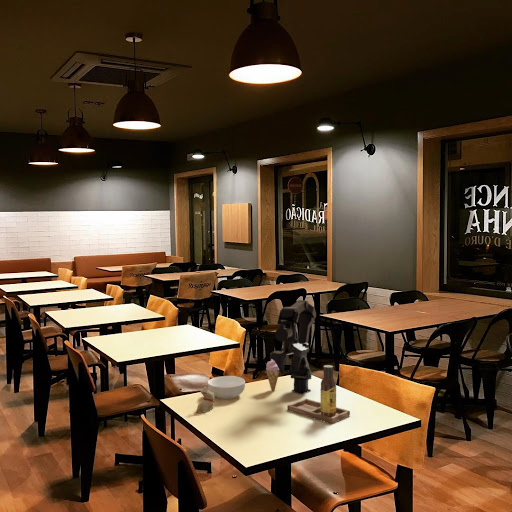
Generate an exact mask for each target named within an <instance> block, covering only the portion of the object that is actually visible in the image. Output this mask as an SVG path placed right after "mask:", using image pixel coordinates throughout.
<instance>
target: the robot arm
mask: <svg viewBox="0 0 512 512" xmlns="http://www.w3.org/2000/svg"><path fill="white" fill-rule="evenodd" d="M316 318H317V312H316V309H315V307H314V306H313V305H311V304H310V303H309V301H308V300H305V299H304V300H302V299H301V300H299V299H298V300H296V302H295V303H294V304H292V305H291V306H284V307H282V308H281V309H280V310H279V314H278V319H277V322H276V323H277V324H276V325H279V326H278V327H279V328H277V329H276V330H275V333H274V337H275V338H276V340H277V341H279V342H282V347H281V349H280V350H275V351H272V352H270V360H271V359H272V360H274V361H275V362H276V364H277V366H278V368H279V373H280V374H281V375H285V365H286V364H285V363H286V362H287V361H288V360H287V356H291V355H292V359H291V364H290V366H289V373H290V374H289V376H290V379H293V389H291V392H293V393H297V394H300V395H303V394H307V393H309V392H311V391H312V390H311V389H310V388H309V380H312V376H313V375H312V371H311V368H310V367H309V366H310V364H309V362H308V359H307V355H308V354H309V351H310V345H309V339H310V338H309V337H310V330H311V327H312V325H314V323H315V320H316ZM298 323H299V332H298V338H297V324H298Z"/></svg>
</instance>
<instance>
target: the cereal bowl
mask: <svg viewBox="0 0 512 512" xmlns="http://www.w3.org/2000/svg"><path fill="white" fill-rule="evenodd" d="M207 387H208V388H207V389H208V390H209V391H210V392H213V393H214V397H218V399H221V398H222V399H223V400H230V399H234V398H235V397H237V396H239V395H241V394H242V393H244V390H245V387H246V381H245V379H244V378H243V377H239V376H235V375H223V376H215V377H213V378H211V379H208V381H207Z"/></svg>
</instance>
